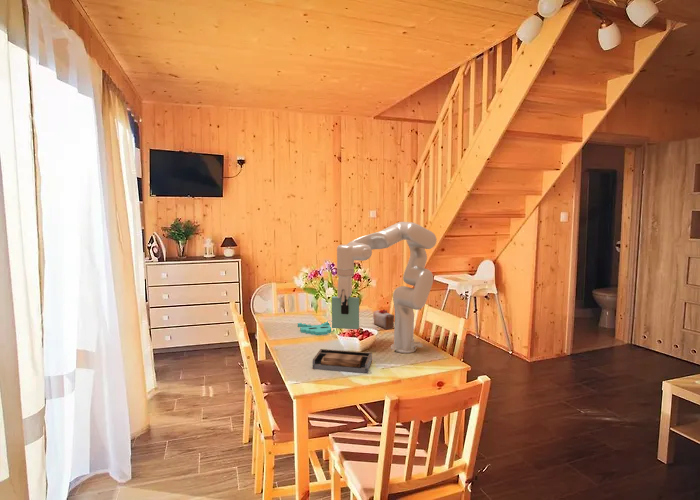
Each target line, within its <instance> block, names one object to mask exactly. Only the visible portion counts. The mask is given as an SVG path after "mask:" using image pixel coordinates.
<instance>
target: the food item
mask: <svg viewBox="0 0 700 500" xmlns="http://www.w3.org/2000/svg"><path fill="white" fill-rule="evenodd" d="M372 315H373V317H372V318H373V325H374V326H379V327H380V328H382V329H385V330H390V329H394V323H395V314H392V313H389V312H388V310H387V309H386V310H385V309H380V310H379V309H377V310H374V311H373V314H372Z"/></svg>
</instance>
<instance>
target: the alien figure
mask: <svg viewBox="0 0 700 500" xmlns="http://www.w3.org/2000/svg"><path fill="white" fill-rule="evenodd" d="M328 321H329V320H327V321H324V322H323V323H321V324H314V325H313V324H311V323H310V324H307V323H302V322H298V323H297V327H298V328H299V329H300V333H303V334H304V333H305V334H306V335H307V334H308V335H309V334H310V335H315V336H324V335H325V336H327V335H329V334H331V333H332V332H331V327H330V325H329V323H328Z"/></svg>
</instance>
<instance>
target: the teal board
mask: <svg viewBox="0 0 700 500" xmlns="http://www.w3.org/2000/svg"><path fill="white" fill-rule="evenodd" d="M345 298H346V297H345ZM348 305H349V313H348V314H341V298H340V299H338V295H337V296H333V295H332V297H331V322H332V328H336V329H342V330H346V329H347V330H359V329H360V297H357V296H355V297H354V296H353V297H352V296H350V297H349V298H348Z"/></svg>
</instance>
